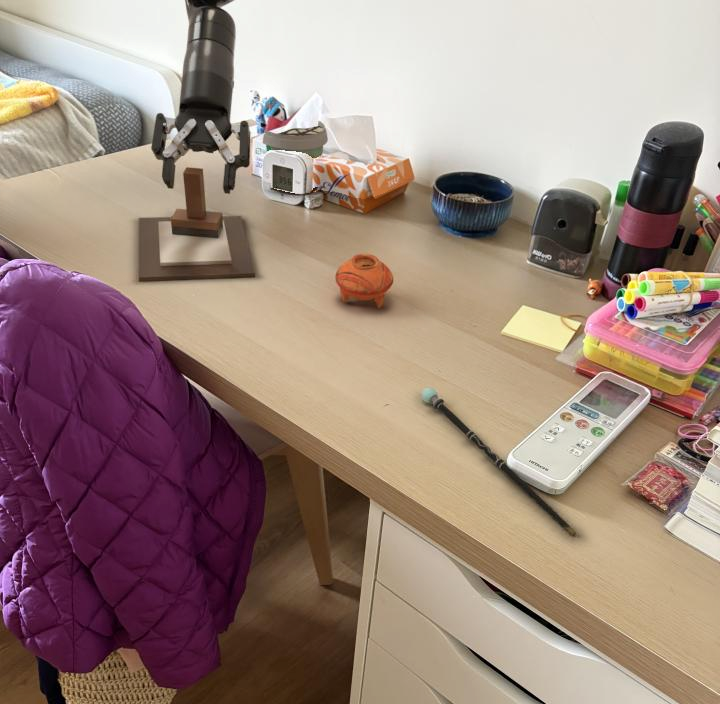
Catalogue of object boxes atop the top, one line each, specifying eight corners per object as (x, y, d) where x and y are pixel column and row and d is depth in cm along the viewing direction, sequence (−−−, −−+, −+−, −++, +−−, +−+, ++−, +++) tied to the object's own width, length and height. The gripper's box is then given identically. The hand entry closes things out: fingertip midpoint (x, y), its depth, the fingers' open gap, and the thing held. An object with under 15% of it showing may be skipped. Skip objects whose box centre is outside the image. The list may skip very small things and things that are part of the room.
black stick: (569, 544, 69) (566, 537, 68) (421, 400, 84) (416, 392, 82) (583, 532, 69) (580, 525, 68) (433, 390, 84) (428, 382, 82)
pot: (405, 296, 100) (405, 256, 95) (370, 327, 97) (368, 287, 92) (361, 275, 104) (358, 235, 98) (325, 304, 100) (321, 264, 95)
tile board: (139, 281, 99) (137, 273, 98) (139, 221, 113) (138, 213, 112) (255, 276, 102) (254, 269, 101) (241, 219, 116) (240, 211, 116)
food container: (283, 202, 123) (283, 141, 116) (263, 190, 126) (262, 130, 119) (339, 189, 129) (342, 130, 122) (319, 178, 132) (321, 120, 125)
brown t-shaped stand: (172, 234, 108) (165, 173, 102) (178, 223, 111) (171, 163, 105) (218, 238, 108) (214, 177, 102) (223, 227, 111) (219, 167, 105)
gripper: (153, 63, 103) (143, 173, 103) (251, 72, 104) (241, 181, 103) (166, 93, 111) (157, 196, 110) (258, 101, 111) (249, 203, 110)
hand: (198, 189), depth 107 cm, fingers open, 8 cm apart
